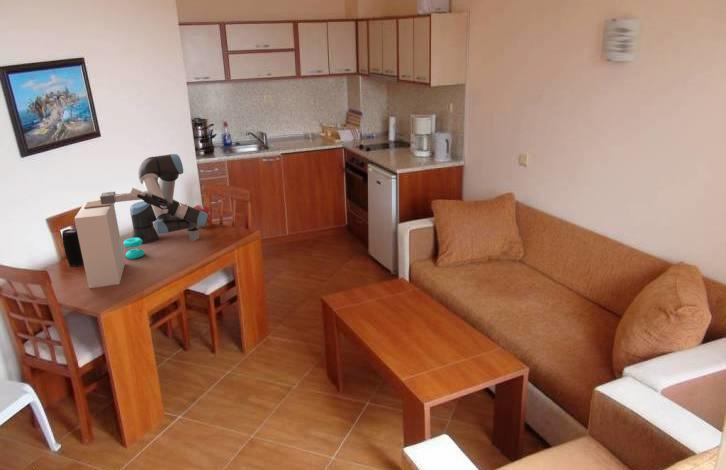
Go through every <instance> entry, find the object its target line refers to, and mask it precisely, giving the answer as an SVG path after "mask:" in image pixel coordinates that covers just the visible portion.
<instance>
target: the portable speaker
mask: <svg viewBox="0 0 726 470" xmlns="http://www.w3.org/2000/svg"><path fill="white" fill-rule="evenodd" d="M62 244H63V250H64V254H65V257H66V260H67V262H68V263H67V264H68V265H70V267H72V266H74V267H79V266H78V265H80V266H82V264H83V265H84V262H83V258H82V253H81V248H80V243H79V239H78V234H77V229H76V228H72V229H71V228H67V229H64V230H62Z"/></svg>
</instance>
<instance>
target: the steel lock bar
mask: <svg viewBox="0 0 726 470" xmlns="http://www.w3.org/2000/svg"><path fill="white" fill-rule="evenodd" d="M130 193H131V192H126V193H125V192H124V193H116V191H109V192H101V194H100V196H99V198H100V201H101V204H102V205H103V204H112V203H114V204H116V203H121V202H122V203H123V202H129V201H139V200H141V199H139V198H136V197H133V196H131V195H130ZM139 193H141V194H144V195H147V196H148V197H150V198H152V193H151V191H146V190H145V191H142V192H139Z"/></svg>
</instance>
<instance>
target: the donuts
mask: <svg viewBox="0 0 726 470" xmlns="http://www.w3.org/2000/svg"><path fill="white" fill-rule="evenodd" d="M122 245H123V246H124V247H126V248H132V249H130V250H128V251H126V252H125V258H127V259H129V260H131V259H132V260H135V259H140V258H141V257H143V256H144V255H145V251H144V250H143V249H141V248H137V247H139V246H140V245H143V244H142V239H141V238H132V237H130V238H127V239H125V240H124V241H123V244H122ZM133 248H134V249H133Z"/></svg>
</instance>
